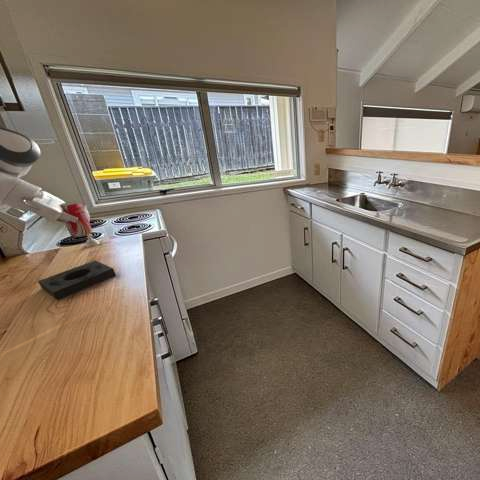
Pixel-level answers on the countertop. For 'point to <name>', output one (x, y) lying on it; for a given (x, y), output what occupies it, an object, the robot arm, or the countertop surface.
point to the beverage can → (81, 224)
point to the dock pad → (76, 279)
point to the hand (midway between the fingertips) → (77, 218)
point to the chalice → (90, 240)
